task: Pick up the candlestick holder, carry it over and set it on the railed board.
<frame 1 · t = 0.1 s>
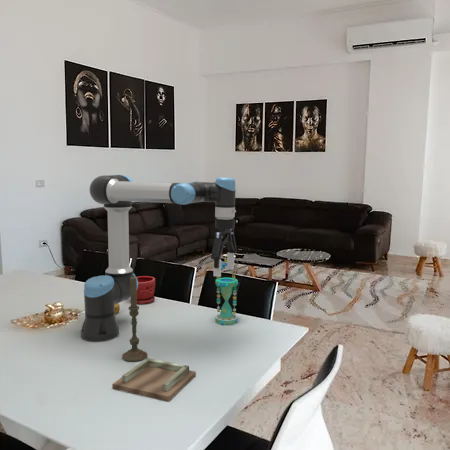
hand: (224, 272, 177), 28 cm above the table, tool pointing down, fingers open, 13 cm apart
potato: (107, 313, 215), on the table
decorative hourglass: (226, 321, 205), on the table
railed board: (155, 382, 146), on the table
candlestick holder: (134, 357, 165), on the table
plant pot: (142, 302, 233), on the table
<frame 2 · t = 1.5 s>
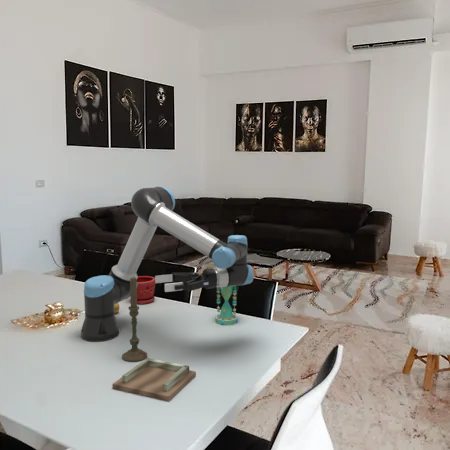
hand: (159, 283, 166), 26 cm above the table, tool horizontal, fingers open, 13 cm apart
nothing on the table moved.
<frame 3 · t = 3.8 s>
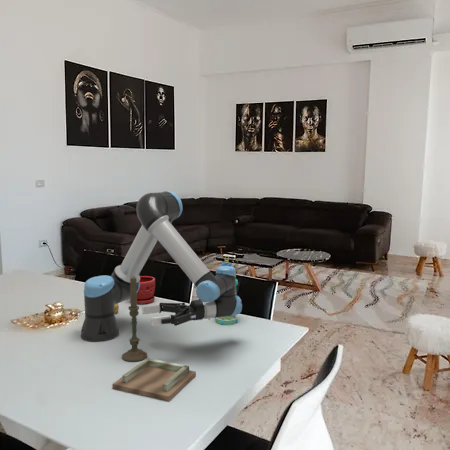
hand: (146, 316, 165), 15 cm above the table, tool horizontal, fingers open, 13 cm apart
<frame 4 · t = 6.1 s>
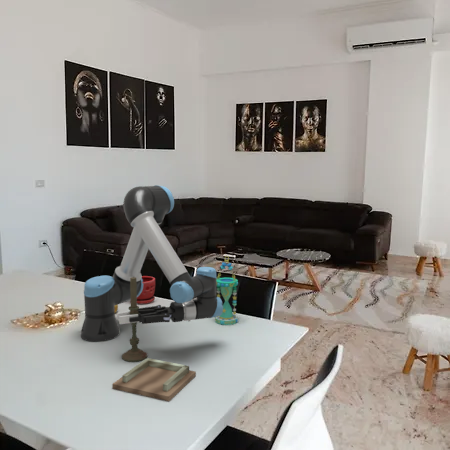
hand: (118, 318, 161), 15 cm above the table, tool horizontal, fingers closed on candlestick holder, 3 cm apart
candlestick holder: (134, 357, 165), on the table, touching gripper
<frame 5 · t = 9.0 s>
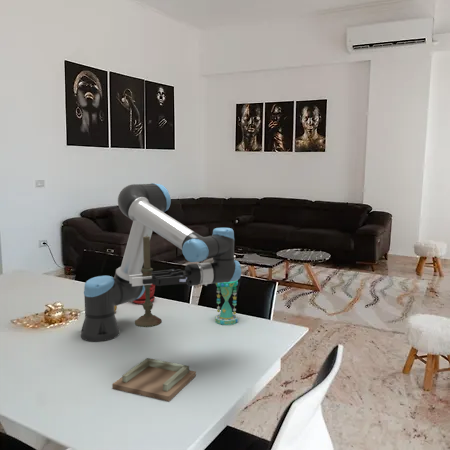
hand: (130, 280, 150), 31 cm above the table, tool horizontal, fingers closed on candlestick holder, 3 cm apart
candlestick holder: (148, 323, 154), point 16 cm above the table, touching gripper
when the fingers open (18 cm above the table, at t = 12.1 s): candlestick holder drops 2 cm, resting on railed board.
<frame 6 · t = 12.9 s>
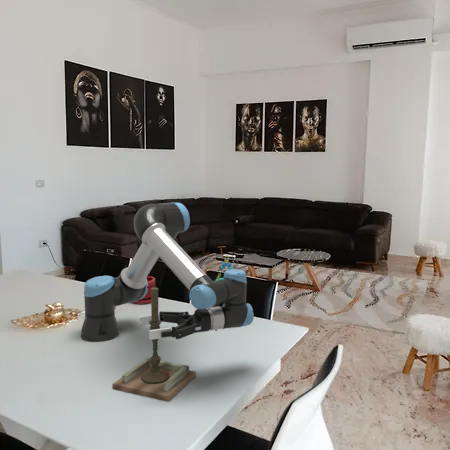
hand: (144, 327, 143), 18 cm above the table, tool horizontal, fingers open, 13 cm apart
candlestick holder: (155, 378, 146), point 1 cm above the table, touching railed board
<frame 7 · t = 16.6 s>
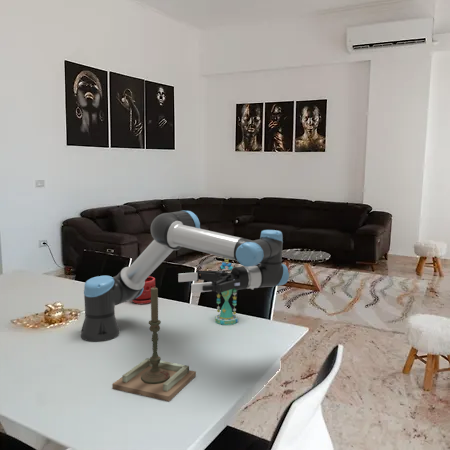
hand: (184, 282, 146), 32 cm above the table, tool horizontal, fingers open, 13 cm apart
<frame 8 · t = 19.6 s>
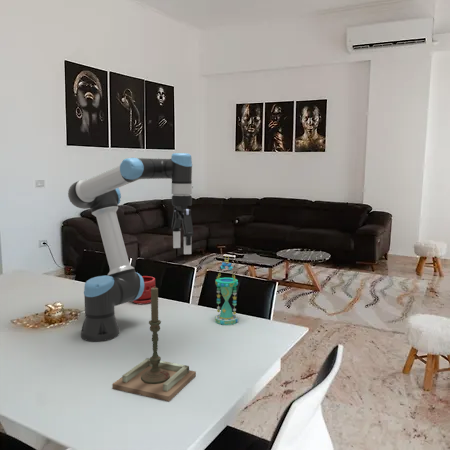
hand: (182, 250, 174), 37 cm above the table, tool pointing down, fingers open, 13 cm apart
at the end: candlestick holder 0.1 cm off-centre on the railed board, point 1.3 cm above the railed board's base; candlestick holder tilted 0°; the gripper is holding nothing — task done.
